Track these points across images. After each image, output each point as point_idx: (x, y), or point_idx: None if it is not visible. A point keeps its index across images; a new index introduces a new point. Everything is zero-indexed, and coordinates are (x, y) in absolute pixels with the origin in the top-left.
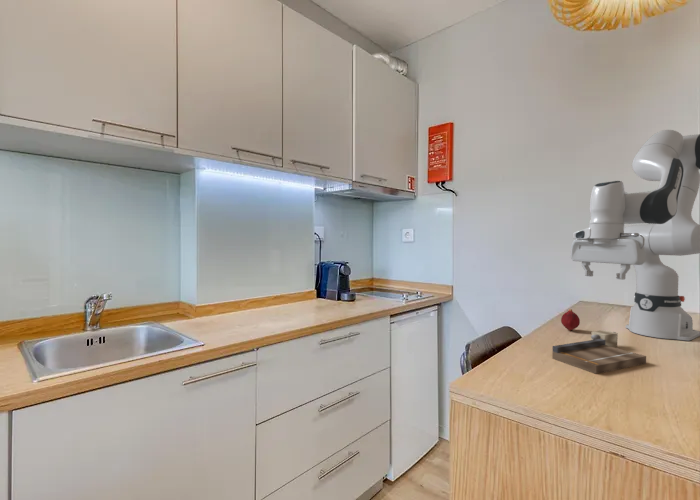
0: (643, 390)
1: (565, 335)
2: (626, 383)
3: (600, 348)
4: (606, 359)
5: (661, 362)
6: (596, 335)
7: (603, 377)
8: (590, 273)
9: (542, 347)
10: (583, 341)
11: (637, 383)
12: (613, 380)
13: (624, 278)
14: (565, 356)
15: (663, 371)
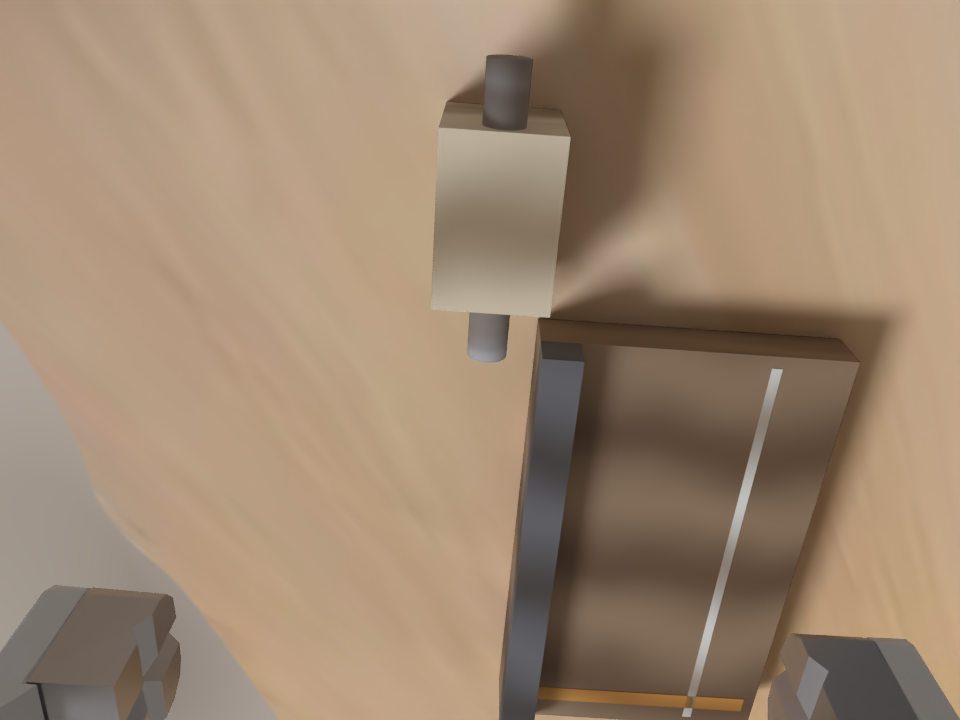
0: None
1: (133, 150)
2: None
3: (607, 453)
4: (732, 612)
5: (901, 220)
6: (498, 342)
7: None
8: (144, 702)
9: (333, 573)
10: (526, 527)
11: None
12: None
13: (902, 665)
14: (578, 712)
15: (946, 397)
